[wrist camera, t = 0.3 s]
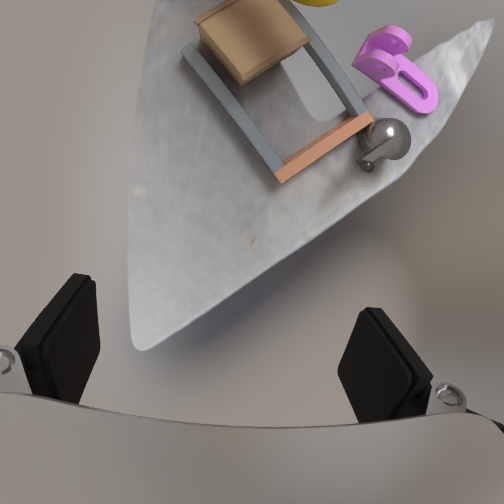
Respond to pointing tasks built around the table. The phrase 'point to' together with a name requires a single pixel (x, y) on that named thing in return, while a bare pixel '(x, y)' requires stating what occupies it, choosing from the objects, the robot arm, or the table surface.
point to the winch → (382, 142)
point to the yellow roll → (316, 2)
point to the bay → (235, 110)
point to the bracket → (395, 68)
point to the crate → (250, 36)
